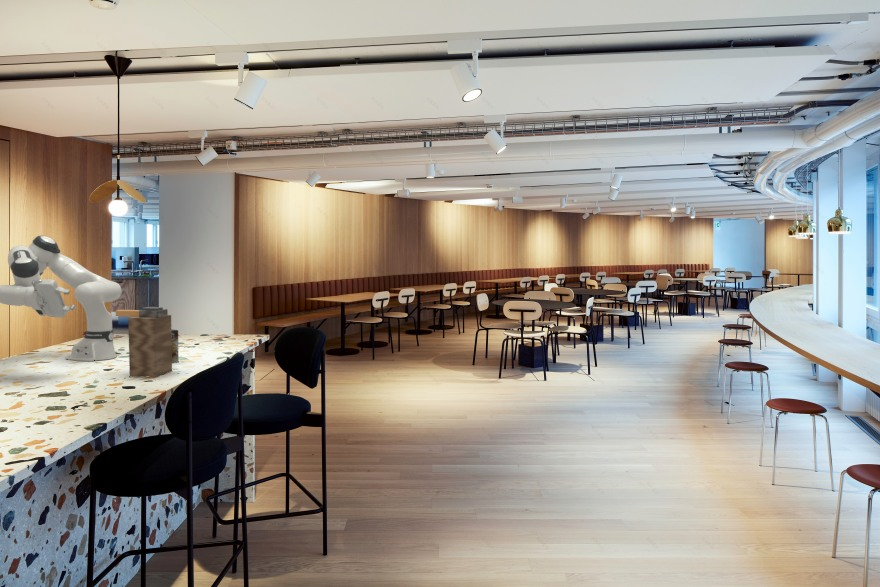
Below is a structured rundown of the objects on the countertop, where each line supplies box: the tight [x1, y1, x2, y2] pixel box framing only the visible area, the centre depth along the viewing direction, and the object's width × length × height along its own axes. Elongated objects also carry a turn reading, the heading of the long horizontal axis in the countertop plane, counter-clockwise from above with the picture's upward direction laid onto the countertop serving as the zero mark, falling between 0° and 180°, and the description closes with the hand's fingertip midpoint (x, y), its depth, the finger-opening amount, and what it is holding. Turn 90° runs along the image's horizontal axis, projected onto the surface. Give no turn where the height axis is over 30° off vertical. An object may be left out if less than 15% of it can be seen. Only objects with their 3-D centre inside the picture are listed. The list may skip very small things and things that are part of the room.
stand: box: [127, 308, 173, 378], centre depth 270 cm, size 12×14×29 cm
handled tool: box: [115, 306, 164, 318], centre depth 269 cm, size 20×5×4 cm, turn 86°
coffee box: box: [171, 328, 180, 364], centre depth 296 cm, size 9×6×16 cm
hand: (72, 300), depth 260 cm, fingers open, 8 cm apart
